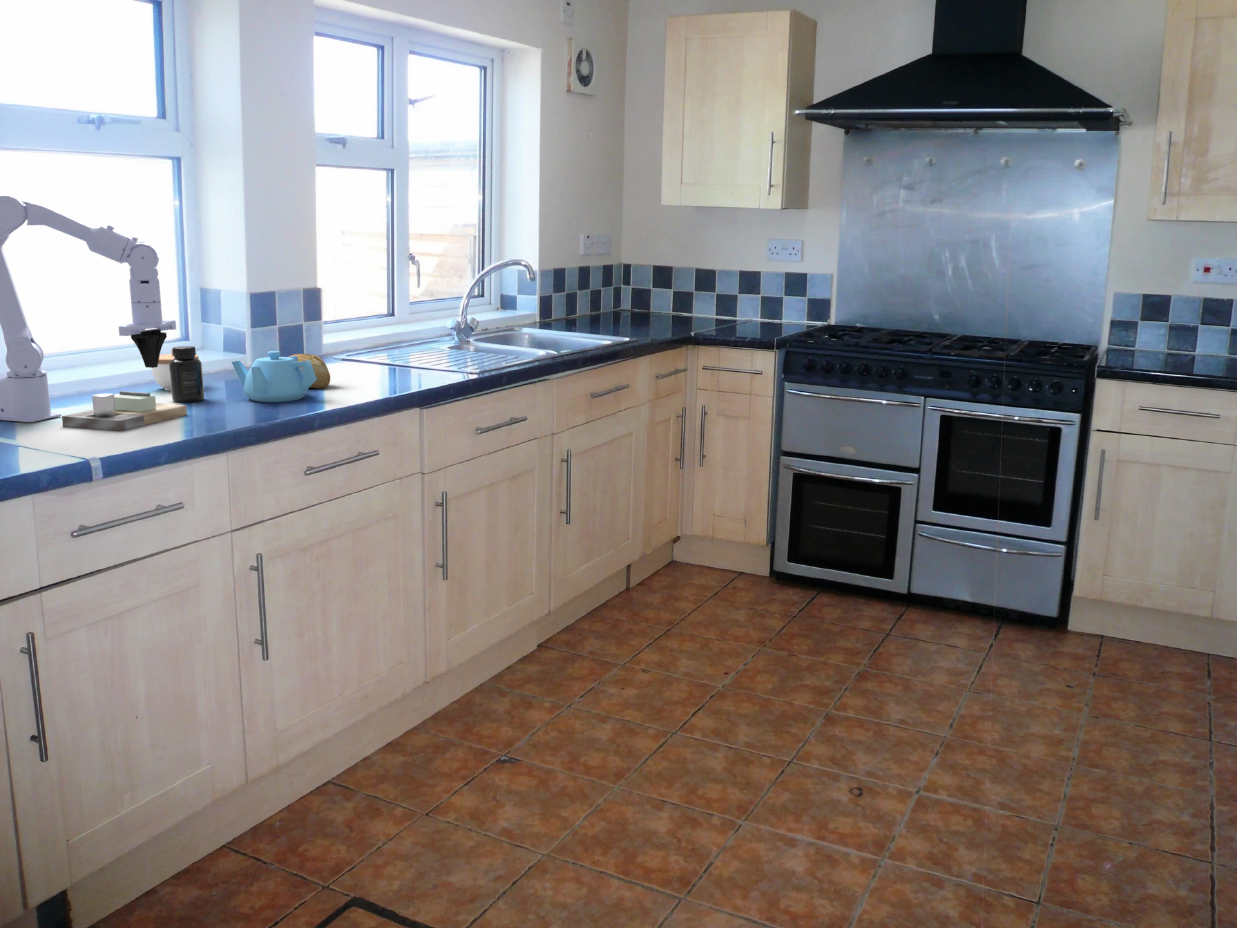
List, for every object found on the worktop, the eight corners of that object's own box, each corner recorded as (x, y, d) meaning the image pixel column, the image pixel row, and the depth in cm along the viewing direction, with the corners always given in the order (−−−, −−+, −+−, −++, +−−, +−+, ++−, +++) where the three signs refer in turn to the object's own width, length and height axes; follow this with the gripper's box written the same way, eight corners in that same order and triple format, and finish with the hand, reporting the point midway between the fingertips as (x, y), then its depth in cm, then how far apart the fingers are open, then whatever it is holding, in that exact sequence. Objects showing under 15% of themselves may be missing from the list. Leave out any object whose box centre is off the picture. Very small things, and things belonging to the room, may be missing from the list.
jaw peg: (90, 426, 221) (87, 396, 219) (105, 422, 224) (103, 393, 223) (106, 427, 219) (103, 397, 218) (121, 424, 223) (118, 394, 222)
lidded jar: (142, 390, 264) (139, 351, 262) (173, 384, 274) (170, 346, 272) (180, 393, 261) (177, 353, 259) (210, 386, 271) (207, 348, 269)
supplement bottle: (208, 398, 254) (204, 345, 252) (198, 403, 248) (194, 349, 245) (178, 398, 254) (174, 345, 252) (167, 403, 248) (162, 348, 245)
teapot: (251, 406, 245) (248, 357, 242) (232, 396, 257) (229, 349, 255) (320, 400, 253) (317, 353, 251) (298, 391, 265) (295, 346, 263)
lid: (106, 409, 227) (104, 393, 227) (120, 406, 231) (119, 390, 230) (142, 411, 224) (140, 396, 224) (156, 408, 228) (154, 393, 227)
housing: (62, 426, 220) (61, 416, 220) (132, 410, 238) (131, 401, 237) (120, 431, 216) (119, 420, 215) (187, 414, 233) (186, 405, 233)
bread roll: (286, 382, 279) (285, 350, 277) (340, 385, 275) (338, 353, 273) (264, 388, 270) (262, 355, 268) (319, 391, 266) (317, 358, 264)
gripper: (136, 305, 224) (142, 372, 227) (185, 300, 238) (190, 363, 241) (108, 304, 226) (114, 370, 229) (158, 299, 240) (163, 362, 243)
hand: (151, 367), depth 235 cm, fingers closed
